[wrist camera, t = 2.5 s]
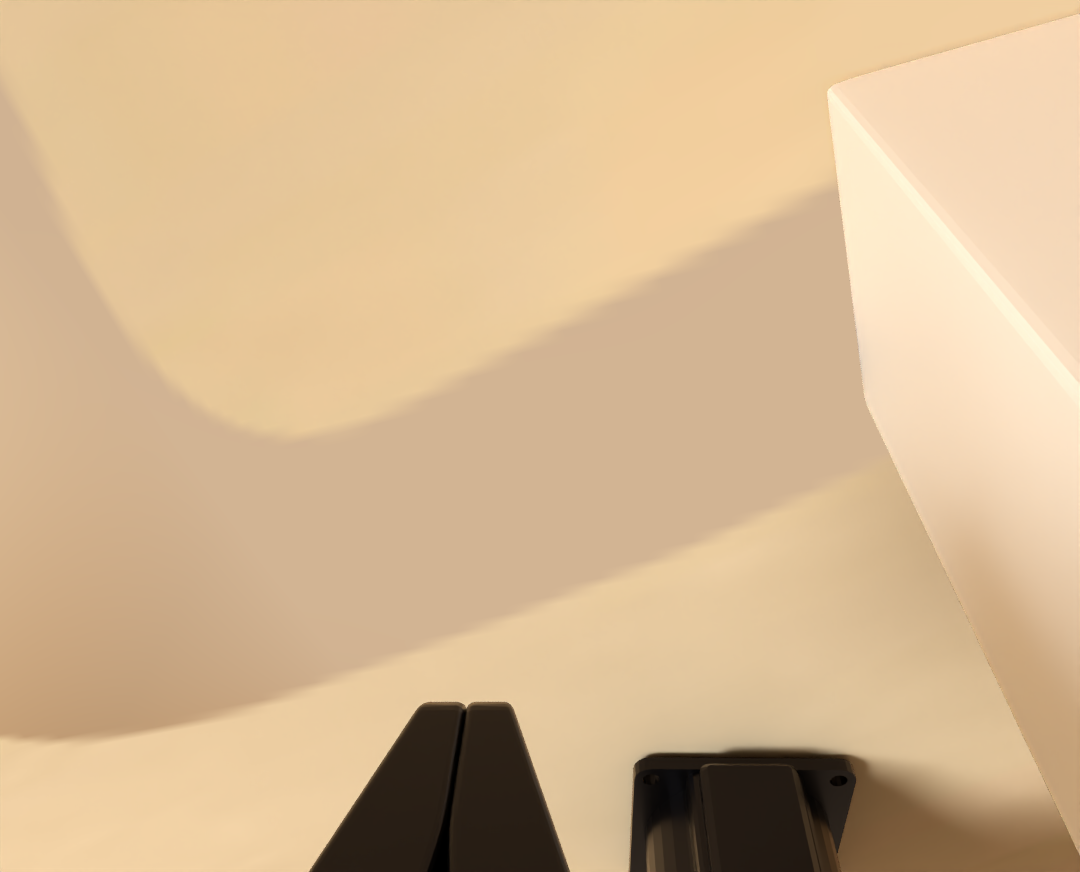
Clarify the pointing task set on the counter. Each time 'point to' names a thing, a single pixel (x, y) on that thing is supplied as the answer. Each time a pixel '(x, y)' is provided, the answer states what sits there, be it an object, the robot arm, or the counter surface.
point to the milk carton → (981, 342)
